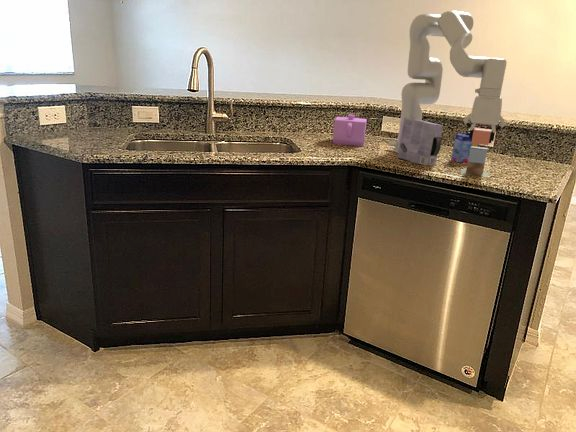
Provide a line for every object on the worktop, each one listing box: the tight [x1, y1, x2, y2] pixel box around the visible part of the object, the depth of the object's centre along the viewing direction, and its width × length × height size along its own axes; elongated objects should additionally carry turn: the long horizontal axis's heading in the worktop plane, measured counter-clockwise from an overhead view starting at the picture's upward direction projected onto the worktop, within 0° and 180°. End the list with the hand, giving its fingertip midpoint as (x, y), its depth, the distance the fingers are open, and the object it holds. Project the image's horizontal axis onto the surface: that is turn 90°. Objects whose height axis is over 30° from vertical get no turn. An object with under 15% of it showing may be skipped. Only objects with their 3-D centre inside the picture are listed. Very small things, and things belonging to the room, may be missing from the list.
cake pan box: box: [397, 118, 444, 166], centre depth 199 cm, size 19×5×18 cm, turn 32°
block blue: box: [468, 146, 489, 164], centre depth 181 cm, size 6×6×5 cm
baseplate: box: [460, 169, 489, 178], centre depth 185 cm, size 10×7×1 cm
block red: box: [471, 127, 492, 146], centre depth 179 cm, size 6×6×5 cm
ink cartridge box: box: [450, 129, 480, 163], centre depth 204 cm, size 10×6×14 cm, turn 111°
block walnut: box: [465, 162, 486, 177], centre depth 183 cm, size 6×6×5 cm
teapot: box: [332, 113, 368, 147], centre depth 236 cm, size 15×25×14 cm, turn 170°
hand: (480, 141), depth 180 cm, fingers closed on block red, 6 cm apart
